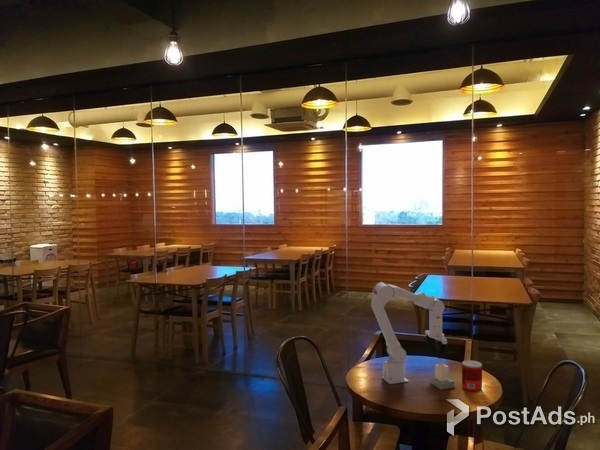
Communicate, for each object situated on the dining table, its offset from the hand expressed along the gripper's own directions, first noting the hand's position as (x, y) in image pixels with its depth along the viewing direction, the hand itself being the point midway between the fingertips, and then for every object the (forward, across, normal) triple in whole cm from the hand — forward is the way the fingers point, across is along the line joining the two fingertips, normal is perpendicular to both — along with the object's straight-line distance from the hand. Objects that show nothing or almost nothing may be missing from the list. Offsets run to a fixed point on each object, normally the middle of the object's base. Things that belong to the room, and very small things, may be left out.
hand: (435, 354), depth 199 cm
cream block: (+8, -8, +2) cm, 11 cm away
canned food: (+11, -15, -8) cm, 20 cm away
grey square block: (+11, -8, +2) cm, 14 cm away
